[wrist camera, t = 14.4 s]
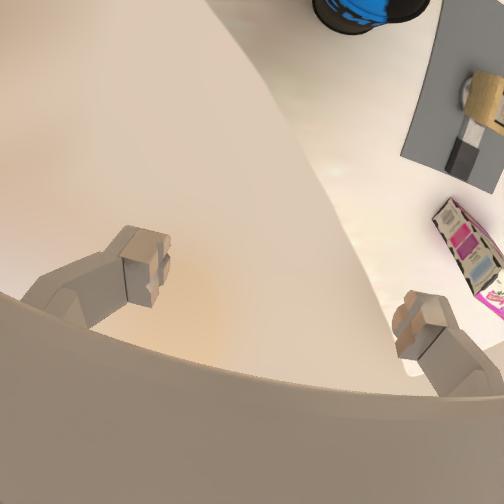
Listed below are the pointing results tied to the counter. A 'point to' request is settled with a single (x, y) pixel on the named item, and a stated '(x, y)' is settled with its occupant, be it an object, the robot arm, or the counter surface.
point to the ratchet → (468, 138)
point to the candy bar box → (474, 254)
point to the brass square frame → (485, 100)
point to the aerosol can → (365, 13)
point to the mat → (448, 84)
